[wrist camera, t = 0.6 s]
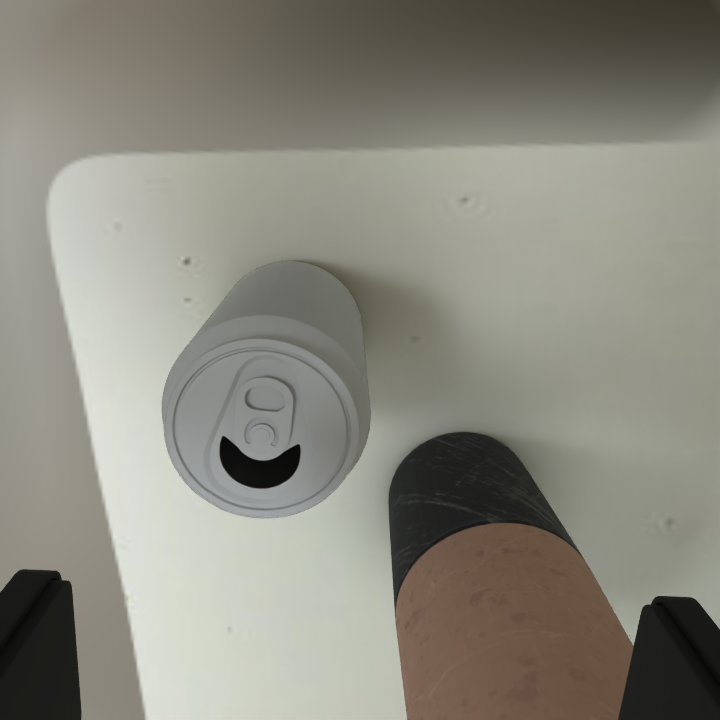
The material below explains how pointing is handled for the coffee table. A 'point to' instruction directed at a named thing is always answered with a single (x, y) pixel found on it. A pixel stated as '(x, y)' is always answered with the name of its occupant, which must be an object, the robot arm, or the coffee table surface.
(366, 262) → the coffee table surface
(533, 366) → the coffee table surface
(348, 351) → the beverage can
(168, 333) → the coffee table surface
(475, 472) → the travel mug
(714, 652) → the robot arm
